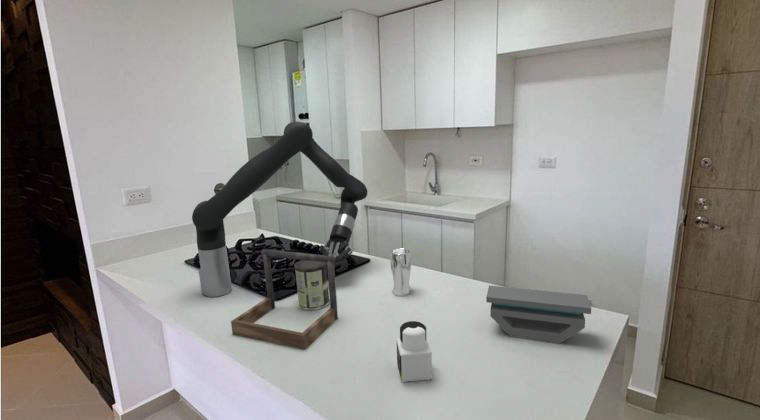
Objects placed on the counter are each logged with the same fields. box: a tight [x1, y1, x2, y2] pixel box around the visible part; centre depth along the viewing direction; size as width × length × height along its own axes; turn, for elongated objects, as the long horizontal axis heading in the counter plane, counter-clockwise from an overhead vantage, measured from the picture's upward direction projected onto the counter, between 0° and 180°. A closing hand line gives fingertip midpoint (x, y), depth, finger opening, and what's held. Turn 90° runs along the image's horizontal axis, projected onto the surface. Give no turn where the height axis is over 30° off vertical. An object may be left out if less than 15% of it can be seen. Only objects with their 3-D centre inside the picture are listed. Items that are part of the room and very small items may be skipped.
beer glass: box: [390, 247, 412, 297], centre depth 134 cm, size 7×7×15 cm
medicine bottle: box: [396, 320, 433, 383], centre depth 91 cm, size 7×7×12 cm
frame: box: [230, 248, 339, 350], centre depth 114 cm, size 18×25×20 cm
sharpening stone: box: [485, 285, 592, 345], centre depth 105 cm, size 25×8×11 cm, turn 70°
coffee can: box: [294, 260, 330, 311], centre depth 128 cm, size 10×10×14 cm
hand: (328, 271), depth 138 cm, fingers closed
